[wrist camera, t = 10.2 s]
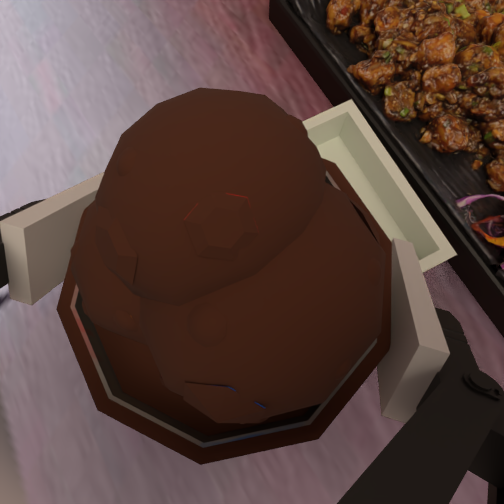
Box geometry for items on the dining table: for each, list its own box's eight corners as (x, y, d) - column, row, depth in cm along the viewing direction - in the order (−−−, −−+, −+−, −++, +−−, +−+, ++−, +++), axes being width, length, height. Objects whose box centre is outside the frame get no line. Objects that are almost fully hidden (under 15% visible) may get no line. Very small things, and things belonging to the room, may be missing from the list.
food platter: (719, 236, 38) (883, 191, 28) (520, 366, 35) (623, 367, 25) (436, -57, 49) (481, -163, 39) (269, 23, 46) (271, -69, 36)
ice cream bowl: (103, 324, 22) (-204, 233, 7) (240, 190, 24) (209, -81, 10) (241, 468, 19) (189, 749, 5) (377, 305, 22) (609, 178, 7)
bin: (340, 129, 41) (351, 99, 36) (431, 268, 37) (457, 254, 32) (195, 197, 39) (186, 174, 34) (273, 351, 35) (275, 349, 30)
